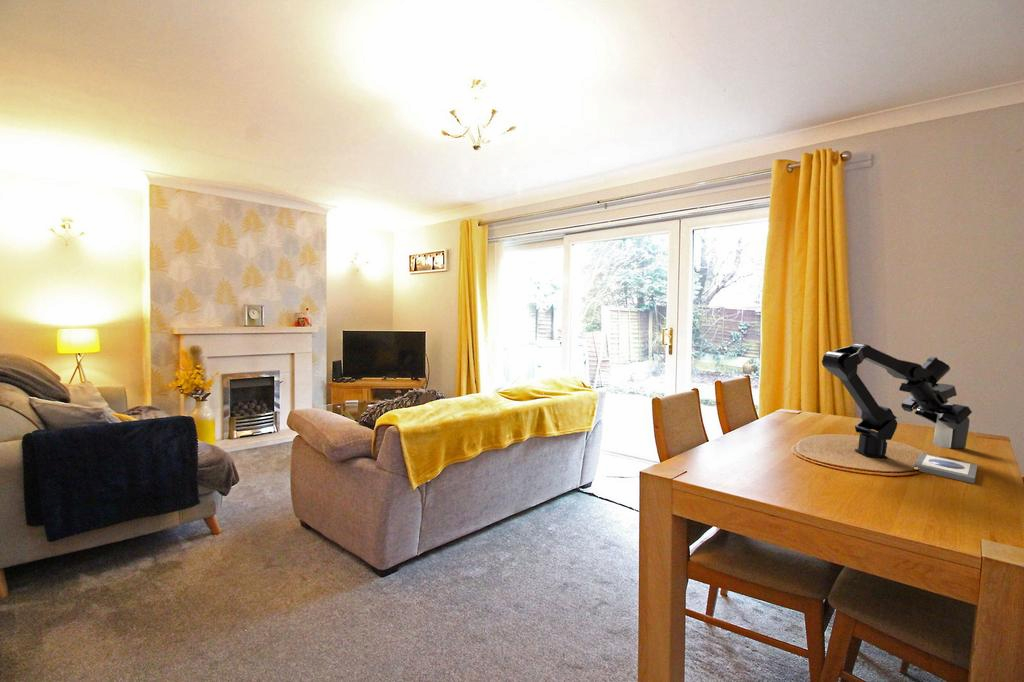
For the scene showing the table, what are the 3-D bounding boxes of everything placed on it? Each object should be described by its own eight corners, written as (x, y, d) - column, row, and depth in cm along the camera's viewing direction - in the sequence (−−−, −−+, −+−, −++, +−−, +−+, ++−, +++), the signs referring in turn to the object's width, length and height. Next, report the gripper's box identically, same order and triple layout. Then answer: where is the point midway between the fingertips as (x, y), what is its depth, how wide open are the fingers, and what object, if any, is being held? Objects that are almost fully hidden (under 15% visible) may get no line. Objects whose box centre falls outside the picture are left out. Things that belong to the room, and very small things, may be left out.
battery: (953, 445, 171) (958, 413, 170) (966, 448, 168) (971, 416, 167) (939, 445, 170) (944, 414, 168) (952, 449, 166) (956, 417, 165)
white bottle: (939, 447, 156) (945, 405, 155) (929, 443, 160) (935, 402, 159) (953, 448, 156) (959, 406, 154) (943, 444, 160) (948, 403, 158)
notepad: (974, 483, 132) (974, 477, 132) (913, 469, 142) (914, 463, 141) (976, 469, 145) (977, 463, 145) (920, 457, 154) (921, 452, 154)
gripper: (971, 381, 146) (997, 417, 148) (913, 371, 164) (937, 403, 167) (944, 405, 146) (971, 441, 148) (889, 392, 164) (913, 424, 166)
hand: (947, 426), depth 157 cm, fingers closed on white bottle, 4 cm apart
